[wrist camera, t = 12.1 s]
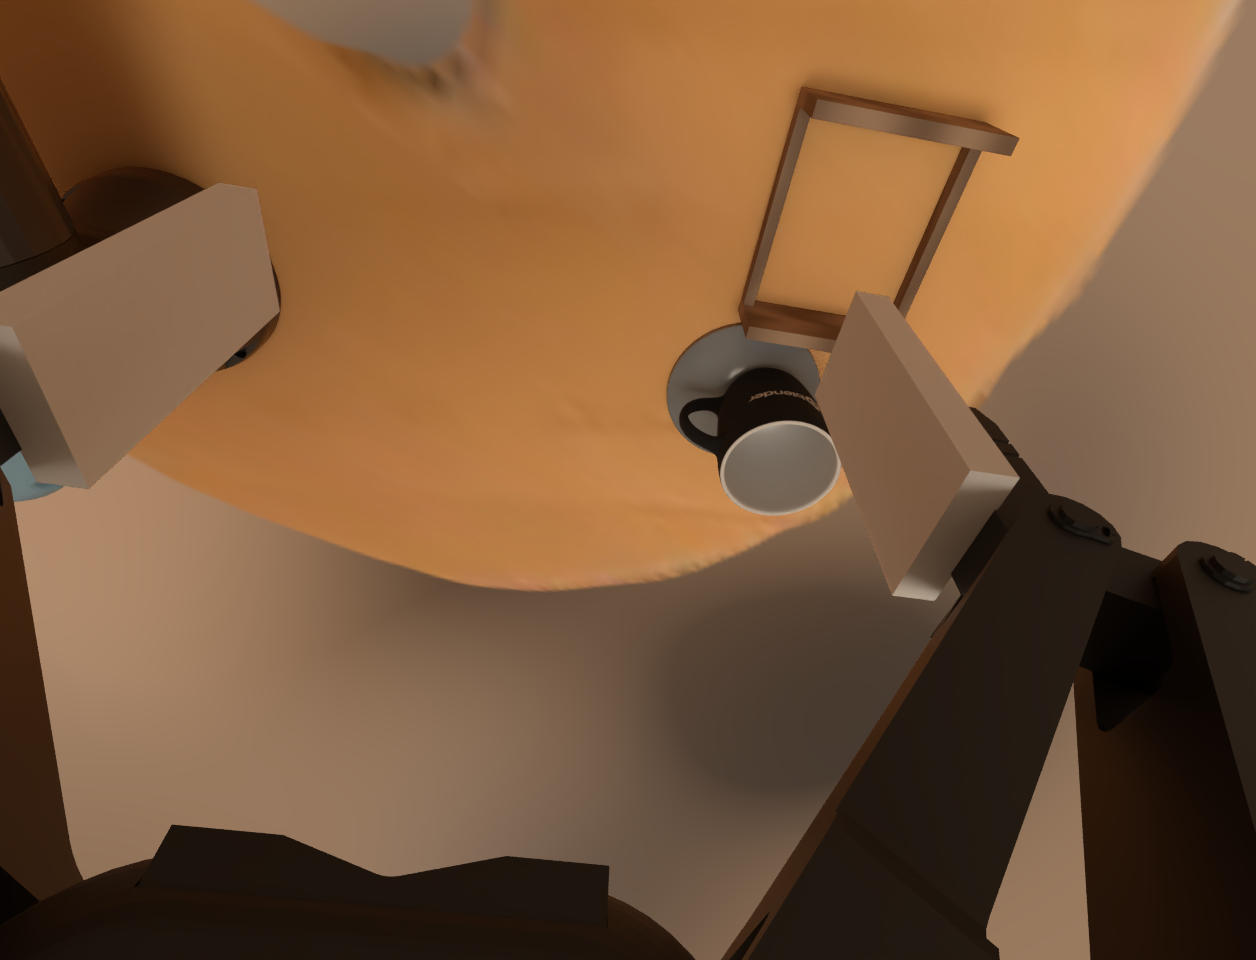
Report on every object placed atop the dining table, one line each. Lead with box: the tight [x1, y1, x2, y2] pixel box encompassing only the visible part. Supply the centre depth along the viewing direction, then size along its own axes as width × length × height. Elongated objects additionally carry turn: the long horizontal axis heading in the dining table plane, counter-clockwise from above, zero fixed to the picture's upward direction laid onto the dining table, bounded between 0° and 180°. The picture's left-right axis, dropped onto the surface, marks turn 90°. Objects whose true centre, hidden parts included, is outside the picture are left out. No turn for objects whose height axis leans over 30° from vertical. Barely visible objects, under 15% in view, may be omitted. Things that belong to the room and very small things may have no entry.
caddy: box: [738, 87, 1020, 353], centre depth 45 cm, size 13×16×5 cm
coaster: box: [667, 323, 820, 454], centre depth 56 cm, size 13×13×1 cm
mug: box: [679, 368, 841, 515], centre depth 51 cm, size 12×9×10 cm
